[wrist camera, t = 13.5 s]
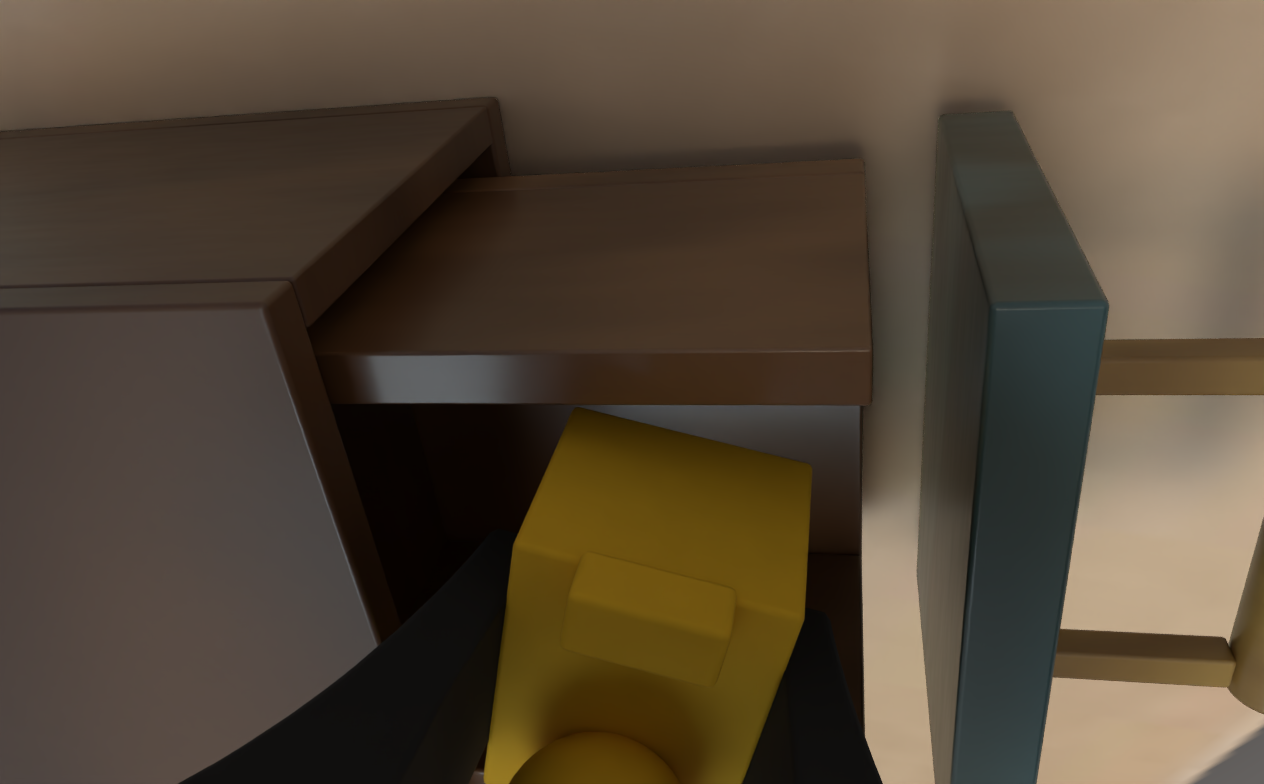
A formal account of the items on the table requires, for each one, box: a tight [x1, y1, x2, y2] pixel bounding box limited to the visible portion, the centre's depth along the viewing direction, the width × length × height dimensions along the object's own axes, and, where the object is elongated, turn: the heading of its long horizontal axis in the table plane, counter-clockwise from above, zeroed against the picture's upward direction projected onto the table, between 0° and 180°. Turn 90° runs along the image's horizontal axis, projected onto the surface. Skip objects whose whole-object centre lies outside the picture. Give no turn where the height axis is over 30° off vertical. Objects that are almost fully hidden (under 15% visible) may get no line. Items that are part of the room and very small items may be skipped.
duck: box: [483, 407, 812, 784], centre depth 13 cm, size 6×3×5 cm, turn 170°
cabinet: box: [0, 97, 511, 784], centre depth 19 cm, size 13×11×9 cm
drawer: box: [306, 111, 1264, 784], centre depth 17 cm, size 17×10×7 cm, turn 96°
